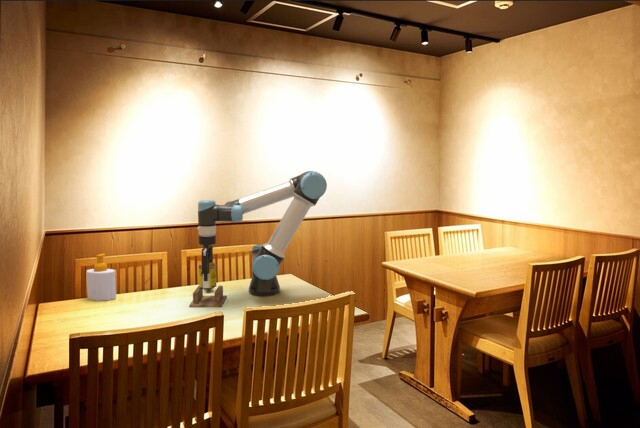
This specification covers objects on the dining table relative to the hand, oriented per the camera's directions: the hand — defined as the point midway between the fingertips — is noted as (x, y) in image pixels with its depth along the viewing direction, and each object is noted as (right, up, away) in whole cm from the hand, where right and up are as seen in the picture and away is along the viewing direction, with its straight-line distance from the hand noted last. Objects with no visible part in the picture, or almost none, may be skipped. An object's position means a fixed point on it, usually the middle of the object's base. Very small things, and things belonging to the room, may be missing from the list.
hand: (207, 285), depth 211 cm
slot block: (0, -8, +1) cm, 8 cm away
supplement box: (0, -1, 0) cm, 1 cm away
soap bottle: (-50, -7, +6) cm, 51 cm away
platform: (-4, -6, +19) cm, 21 cm away
